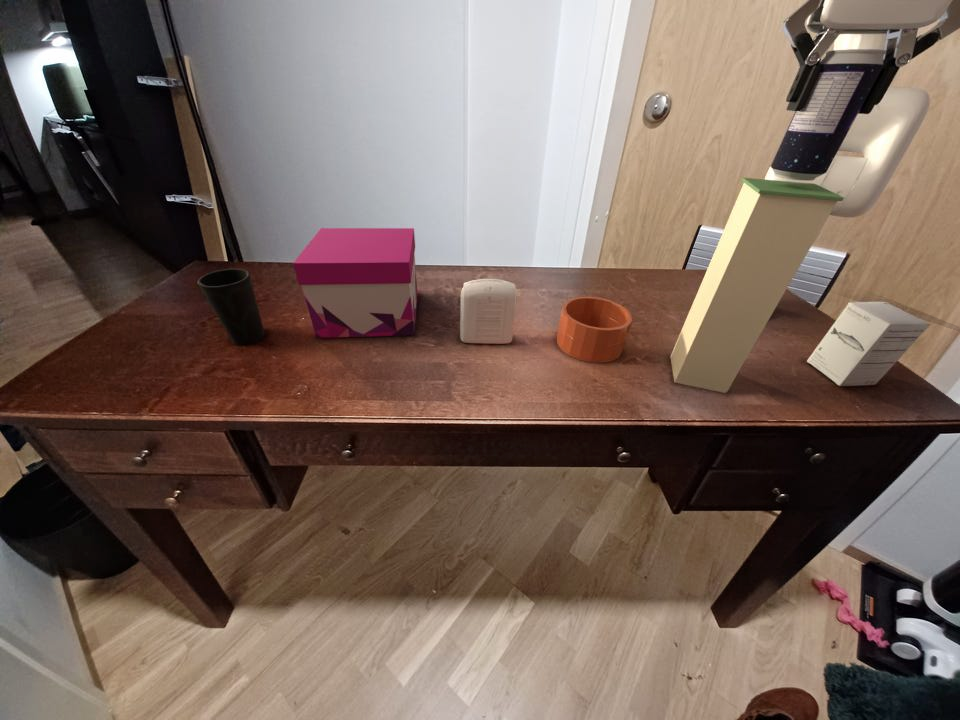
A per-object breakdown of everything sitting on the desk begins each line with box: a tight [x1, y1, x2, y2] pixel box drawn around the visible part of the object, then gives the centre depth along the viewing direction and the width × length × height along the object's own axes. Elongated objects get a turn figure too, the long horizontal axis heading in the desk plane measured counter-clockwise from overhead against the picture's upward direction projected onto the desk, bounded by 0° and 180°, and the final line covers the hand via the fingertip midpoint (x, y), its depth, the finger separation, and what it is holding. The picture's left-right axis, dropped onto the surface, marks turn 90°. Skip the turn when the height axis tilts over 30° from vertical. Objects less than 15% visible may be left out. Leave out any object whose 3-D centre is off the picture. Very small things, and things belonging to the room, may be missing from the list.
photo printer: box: [459, 278, 518, 345], centre depth 67 cm, size 10×4×12 cm, turn 92°
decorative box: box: [292, 227, 418, 339], centre depth 73 cm, size 19×19×15 cm
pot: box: [556, 296, 633, 364], centre depth 69 cm, size 12×12×7 cm
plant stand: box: [669, 182, 837, 394], centre depth 55 cm, size 8×8×30 cm
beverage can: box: [770, 49, 886, 181], centre depth 42 cm, size 6×6×12 cm
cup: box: [197, 268, 266, 346], centre depth 66 cm, size 8×8×12 cm
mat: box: [741, 177, 844, 201], centre depth 46 cm, size 9×9×1 cm
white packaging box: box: [806, 301, 932, 387], centre depth 62 cm, size 7×7×13 cm
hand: (826, 110), depth 41 cm, fingers closed on beverage can, 5 cm apart
